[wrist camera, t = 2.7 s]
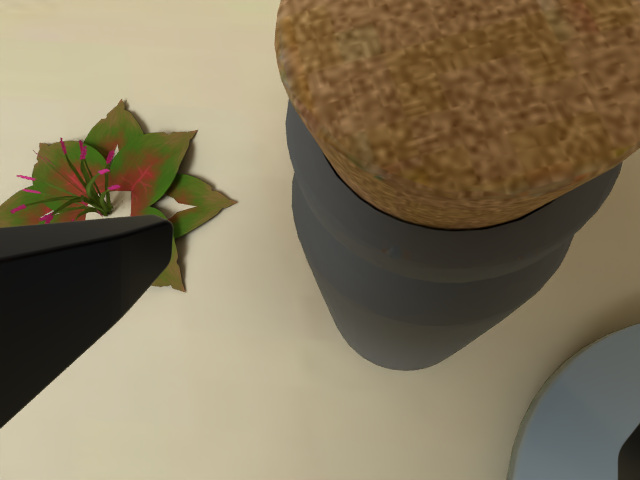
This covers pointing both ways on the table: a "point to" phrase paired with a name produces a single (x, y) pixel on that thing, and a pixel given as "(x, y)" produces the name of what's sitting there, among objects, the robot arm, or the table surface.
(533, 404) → the dish
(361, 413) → the table surface
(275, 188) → the table surface
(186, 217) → the lily flower
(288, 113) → the bottle
